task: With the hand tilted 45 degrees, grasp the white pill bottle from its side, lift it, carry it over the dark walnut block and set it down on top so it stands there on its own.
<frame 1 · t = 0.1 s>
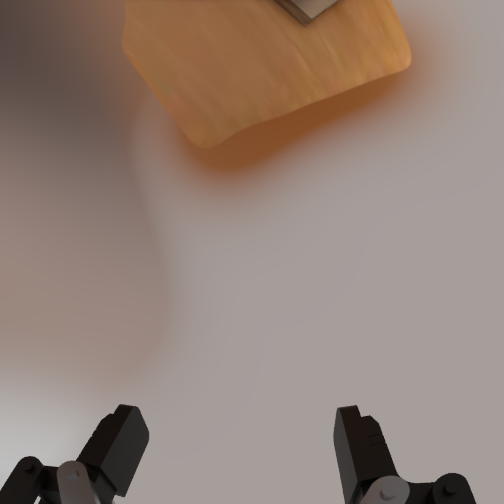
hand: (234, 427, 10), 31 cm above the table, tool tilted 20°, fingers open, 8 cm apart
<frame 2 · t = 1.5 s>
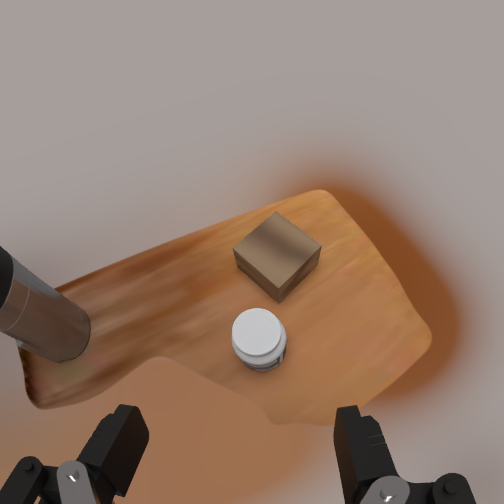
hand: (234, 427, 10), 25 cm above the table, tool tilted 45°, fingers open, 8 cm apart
walnut block: (277, 265, 41), on the table
pill bottle: (262, 350, 35), on the table
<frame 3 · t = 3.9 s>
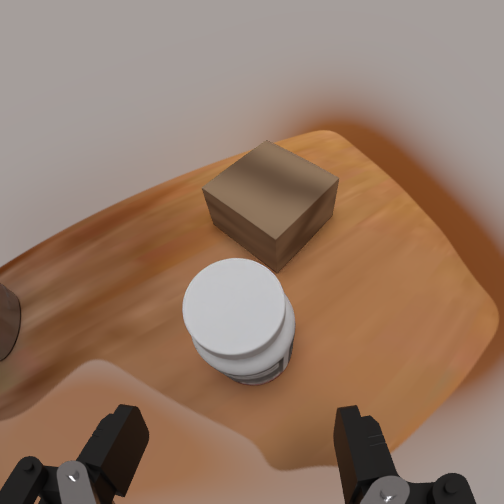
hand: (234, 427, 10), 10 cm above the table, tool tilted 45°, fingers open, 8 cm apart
walnut block: (273, 219, 27), on the table
pill bottle: (253, 350, 21), on the table
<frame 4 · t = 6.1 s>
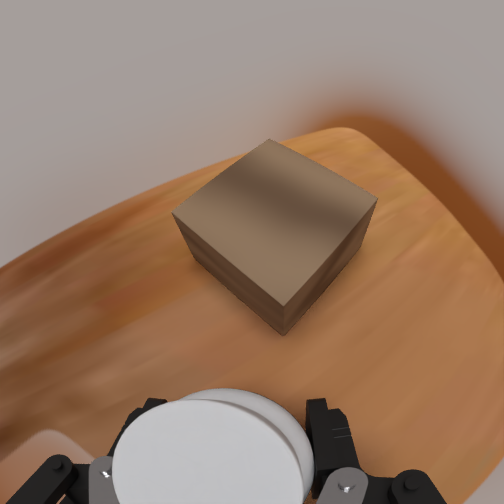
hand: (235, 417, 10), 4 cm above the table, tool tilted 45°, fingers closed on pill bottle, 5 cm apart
walnut block: (277, 252, 19), on the table
pill bottle: (248, 444, 13), on the table, touching gripper
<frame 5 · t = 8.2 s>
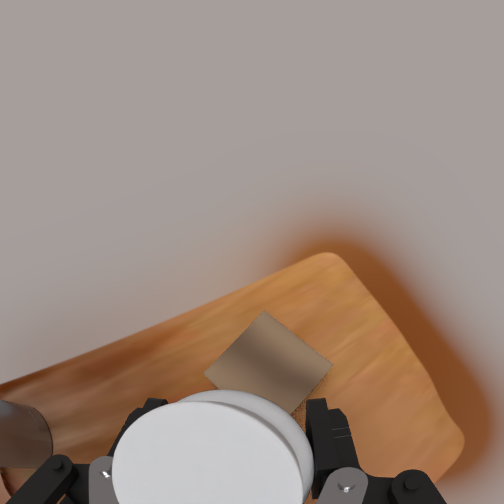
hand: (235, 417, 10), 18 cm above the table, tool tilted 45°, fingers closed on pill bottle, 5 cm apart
walnut block: (270, 377, 28), on the table
pill bottle: (248, 445, 13), point 13 cm above the table, touching gripper
when the fingers open (10 cm above the table, at t = 10.5 s): pill bottle stays where it is, resting on walnut block.
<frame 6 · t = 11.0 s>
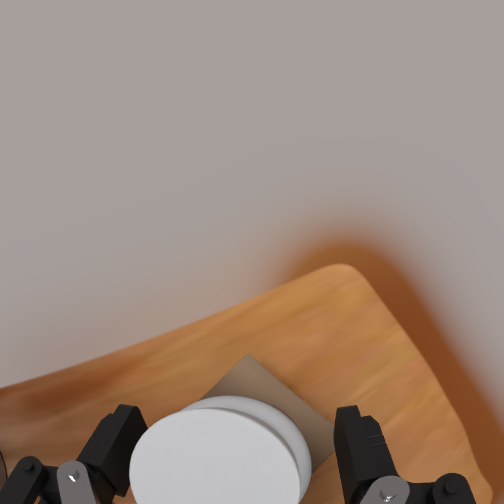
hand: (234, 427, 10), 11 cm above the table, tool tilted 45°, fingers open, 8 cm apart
walnut block: (256, 436, 18), on the table
pill bottle: (251, 445, 14), point 5 cm above the table, touching walnut block
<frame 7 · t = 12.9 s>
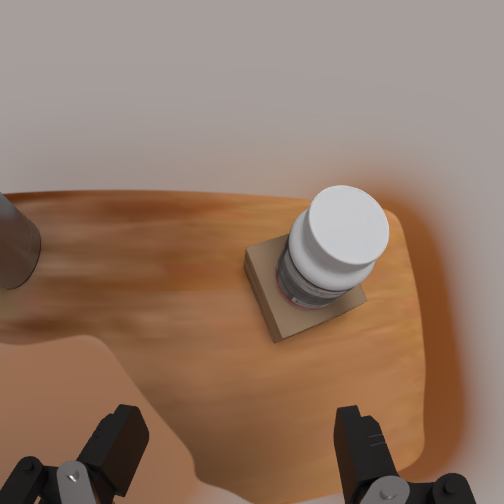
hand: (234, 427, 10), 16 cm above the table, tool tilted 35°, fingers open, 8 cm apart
walnut block: (296, 290, 28), on the table
pill bottle: (307, 278, 24), point 5 cm above the table, touching walnut block
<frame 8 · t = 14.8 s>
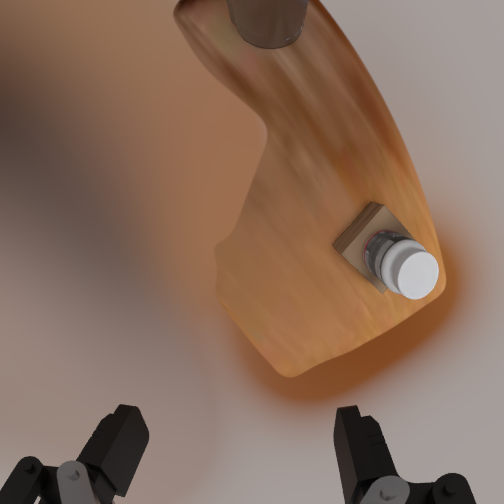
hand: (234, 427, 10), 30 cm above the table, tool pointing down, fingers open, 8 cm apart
walnut block: (371, 242, 38), on the table
pill bottle: (382, 251, 33), point 5 cm above the table, touching walnut block
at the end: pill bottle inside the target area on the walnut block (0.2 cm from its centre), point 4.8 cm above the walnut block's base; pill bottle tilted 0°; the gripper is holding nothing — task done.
